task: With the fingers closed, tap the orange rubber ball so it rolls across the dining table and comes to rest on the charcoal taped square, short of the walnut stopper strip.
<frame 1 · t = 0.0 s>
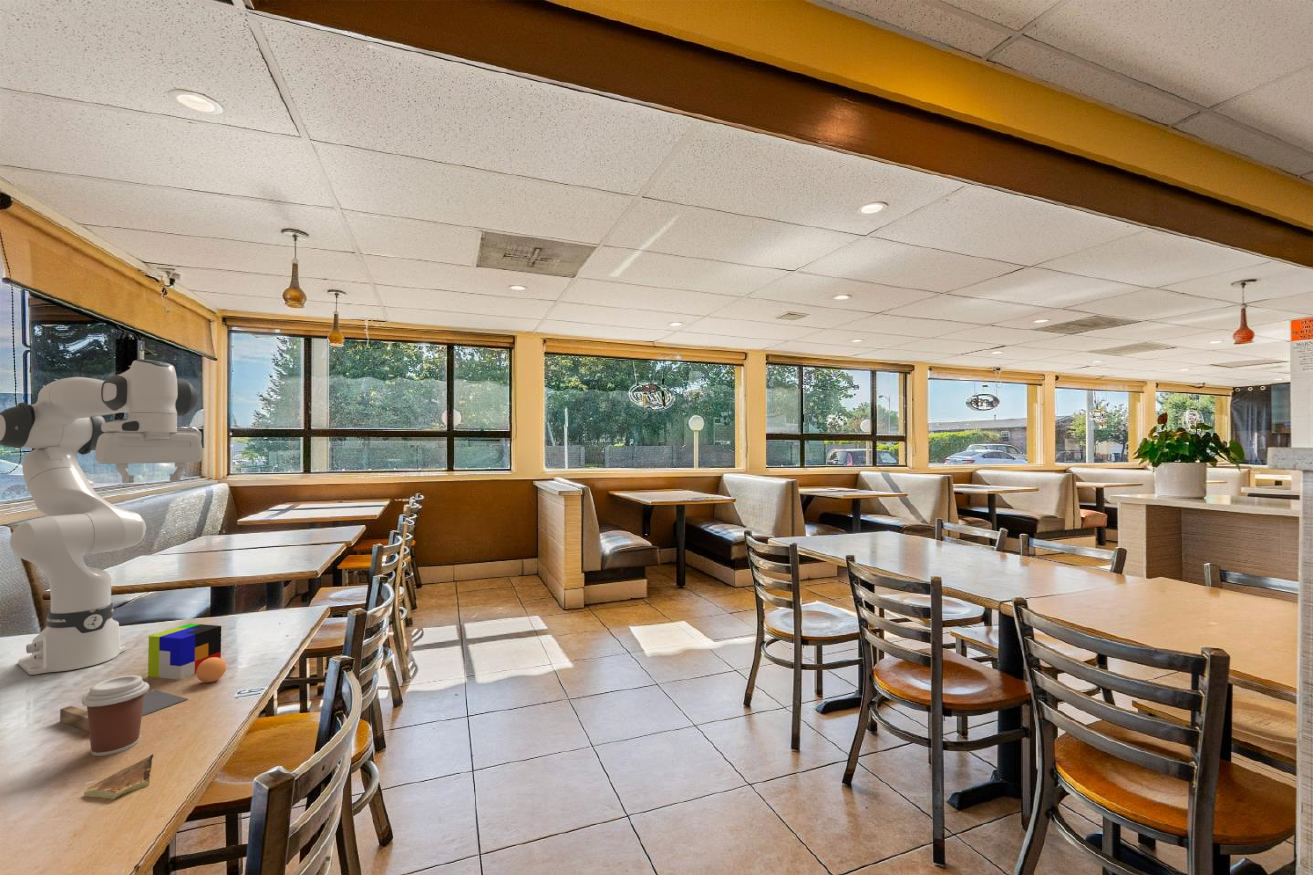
hand: (152, 482, 135), 48 cm above the table, tool pointing down, fingers open, 8 cm apart
shard: (119, 787, 93), on the table
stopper: (83, 725, 112), on the table
mark: (138, 706, 120), on the table
puzzle toy: (185, 671, 140), on the table
ball: (211, 669, 133), on the table
coffee cup: (115, 747, 104), on the table
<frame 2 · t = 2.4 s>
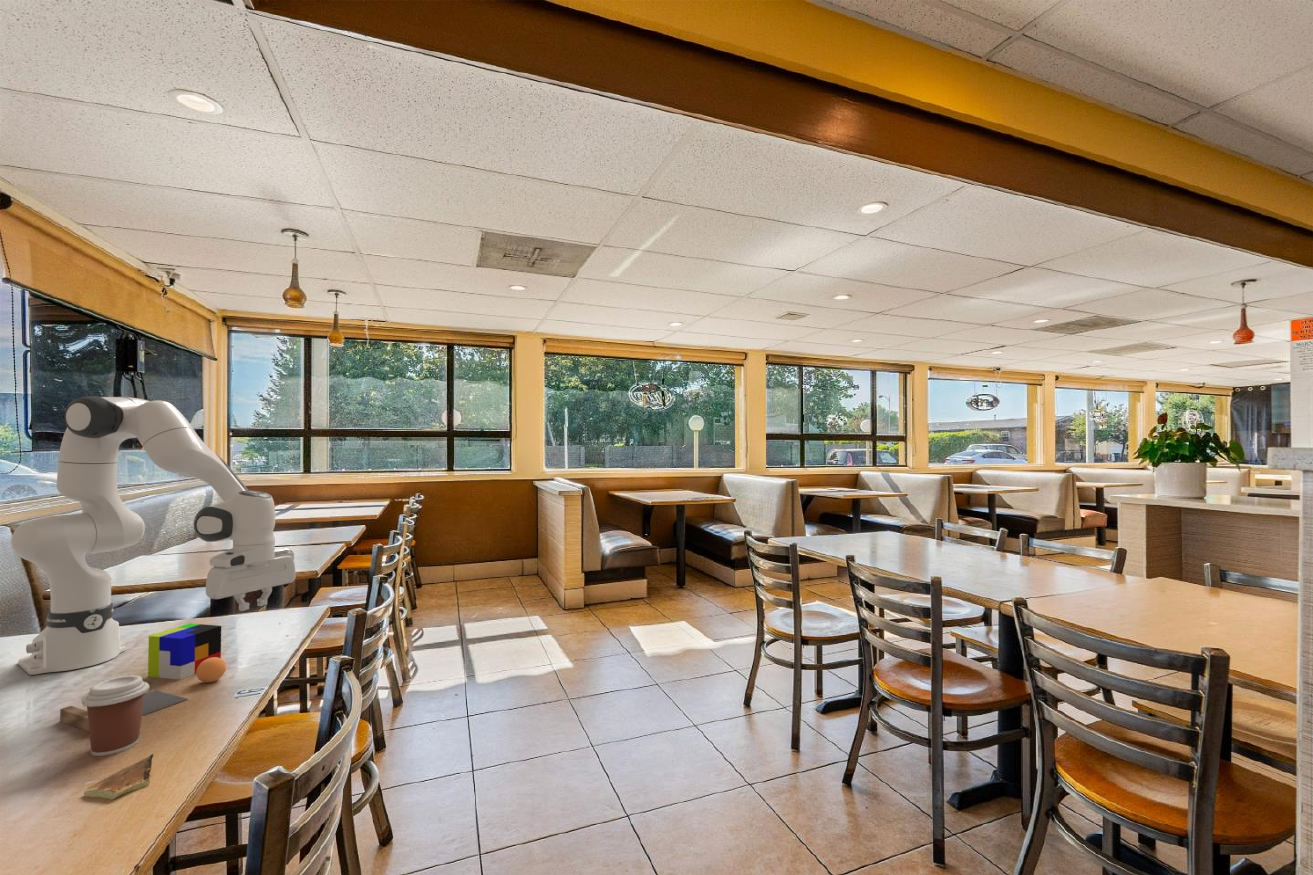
hand: (253, 607, 142), 15 cm above the table, tool pointing down, fingers open, 3 cm apart
nothing on the table moved.
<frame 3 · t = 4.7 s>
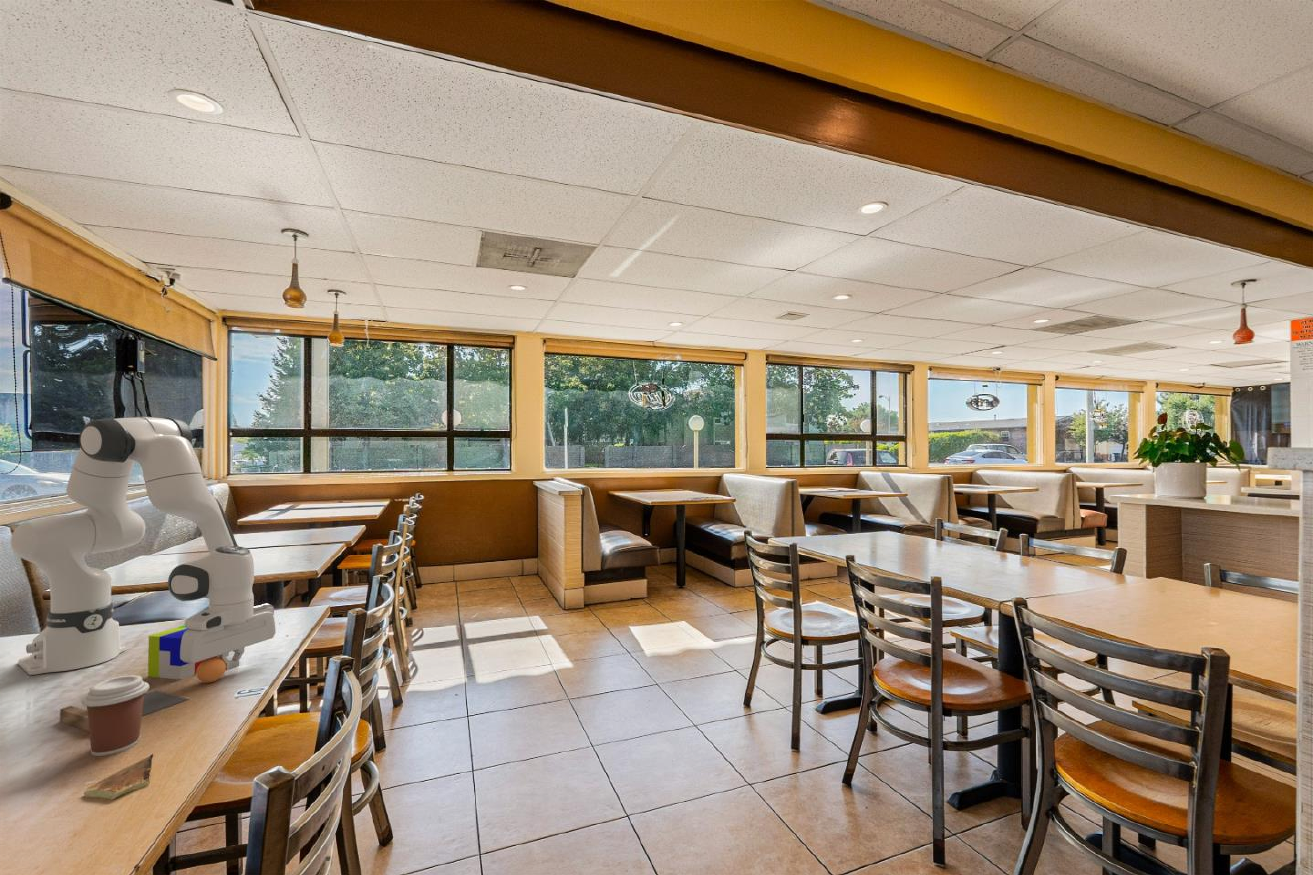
hand: (230, 668, 137), 1 cm above the table, tool pointing down, fingers closed
ball: (211, 669, 133), on the table, touching gripper
everything else where it was.
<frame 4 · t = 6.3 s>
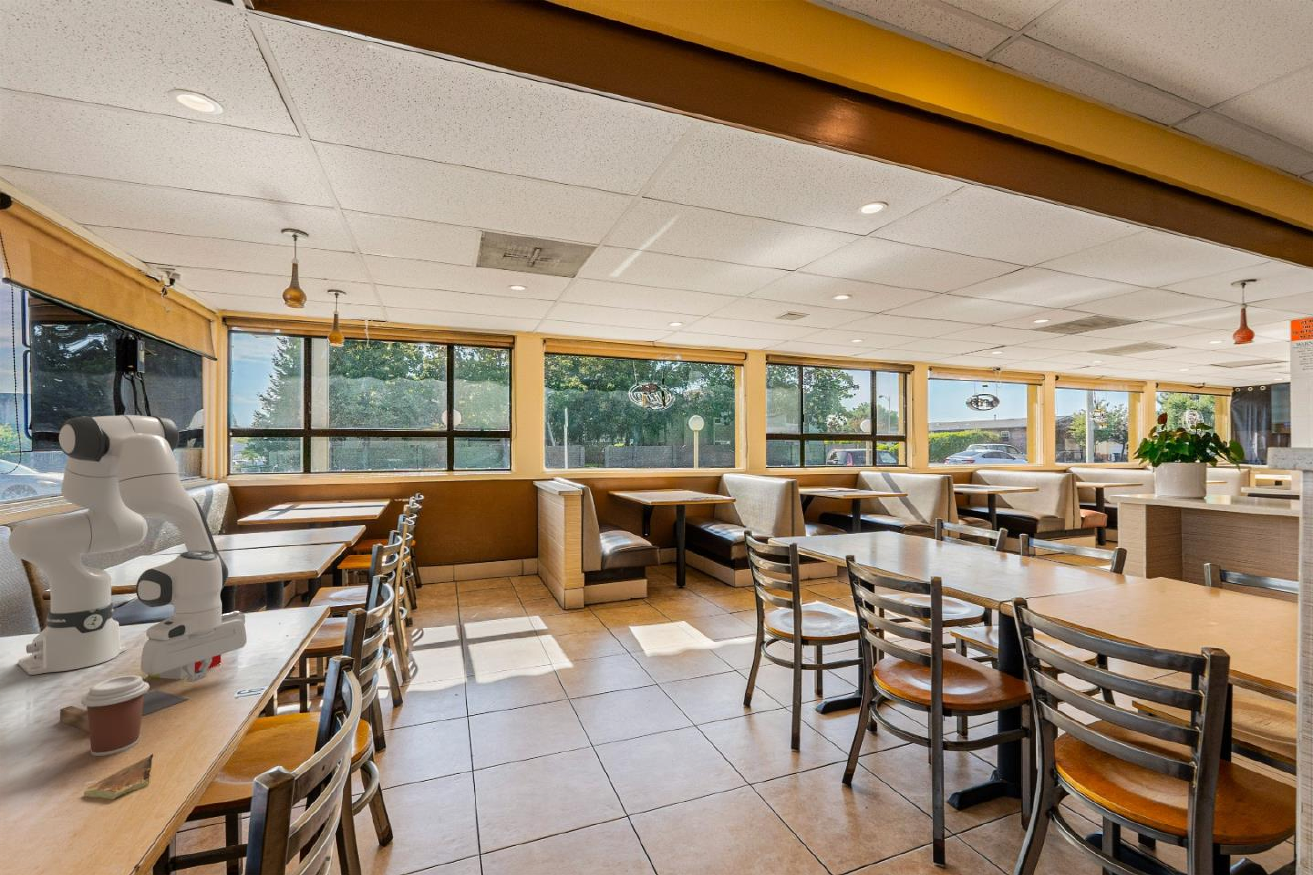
hand: (196, 679, 130), 2 cm above the table, tool pointing down, fingers closed
ball: (111, 703, 115), on the table
everything else where it was.
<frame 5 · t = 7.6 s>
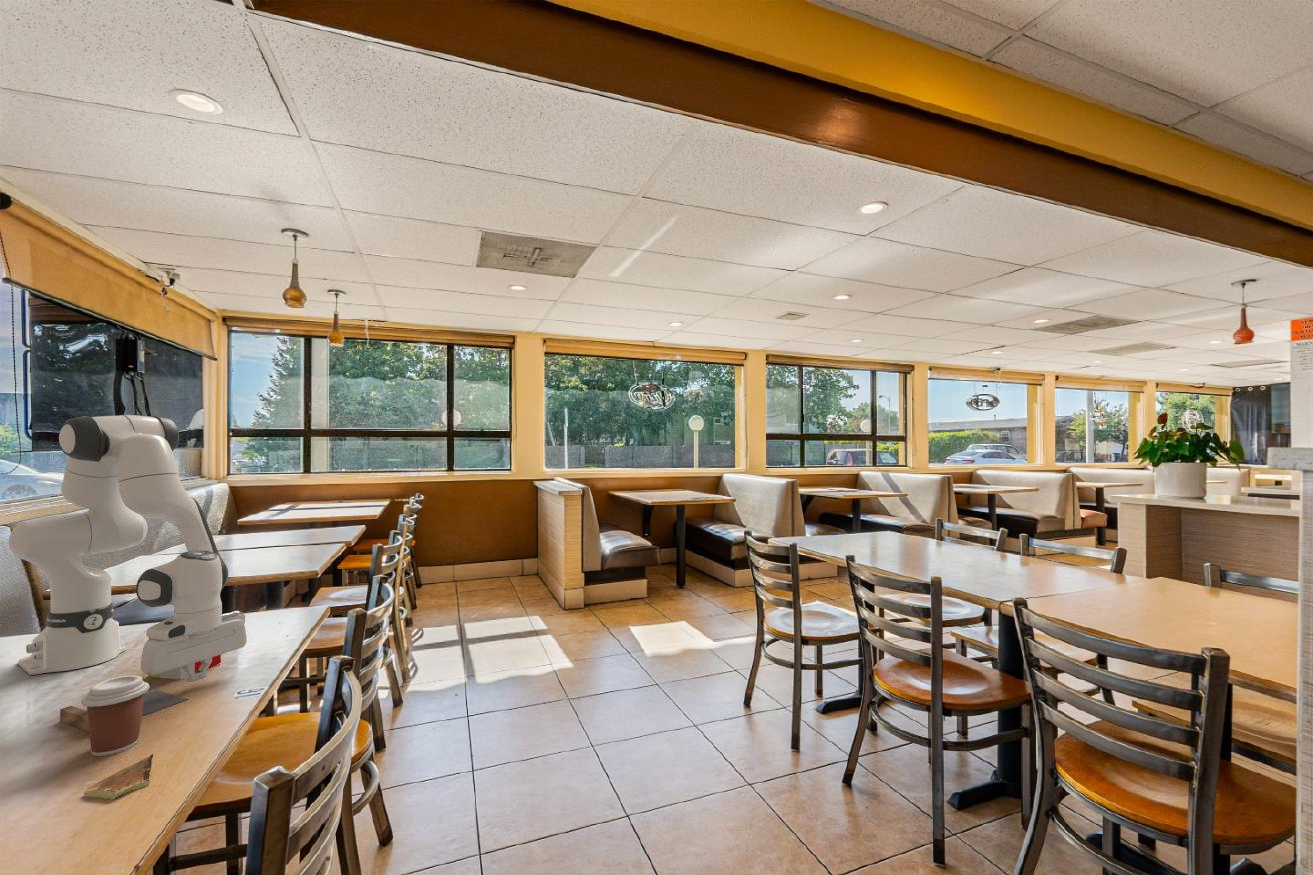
hand: (196, 679, 130), 2 cm above the table, tool pointing down, fingers closed
nothing on the table moved.
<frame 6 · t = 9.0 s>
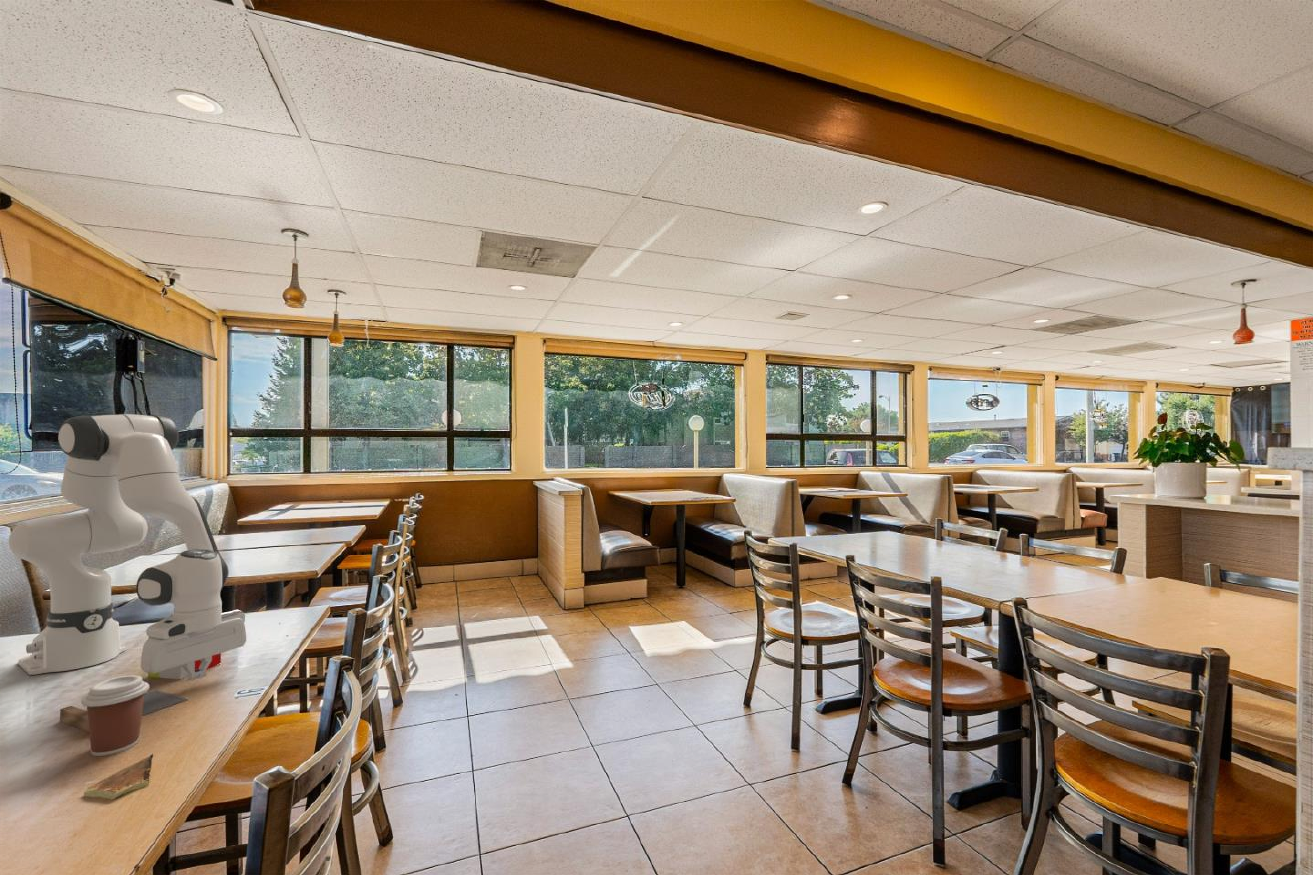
hand: (196, 678, 130), 2 cm above the table, tool pointing down, fingers closed
nothing on the table moved.
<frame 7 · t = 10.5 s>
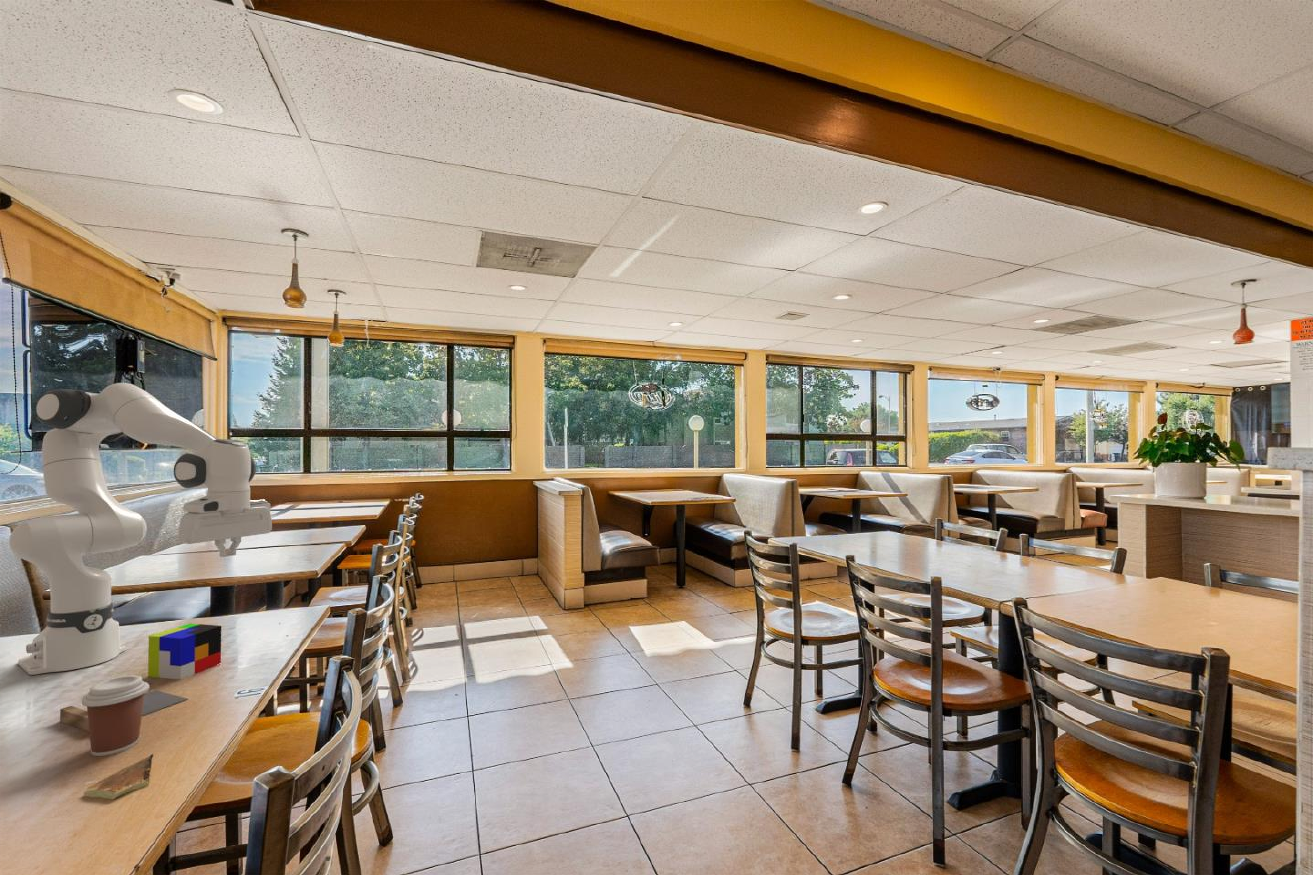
hand: (227, 556, 142), 28 cm above the table, tool pointing down, fingers closed
nothing on the table moved.
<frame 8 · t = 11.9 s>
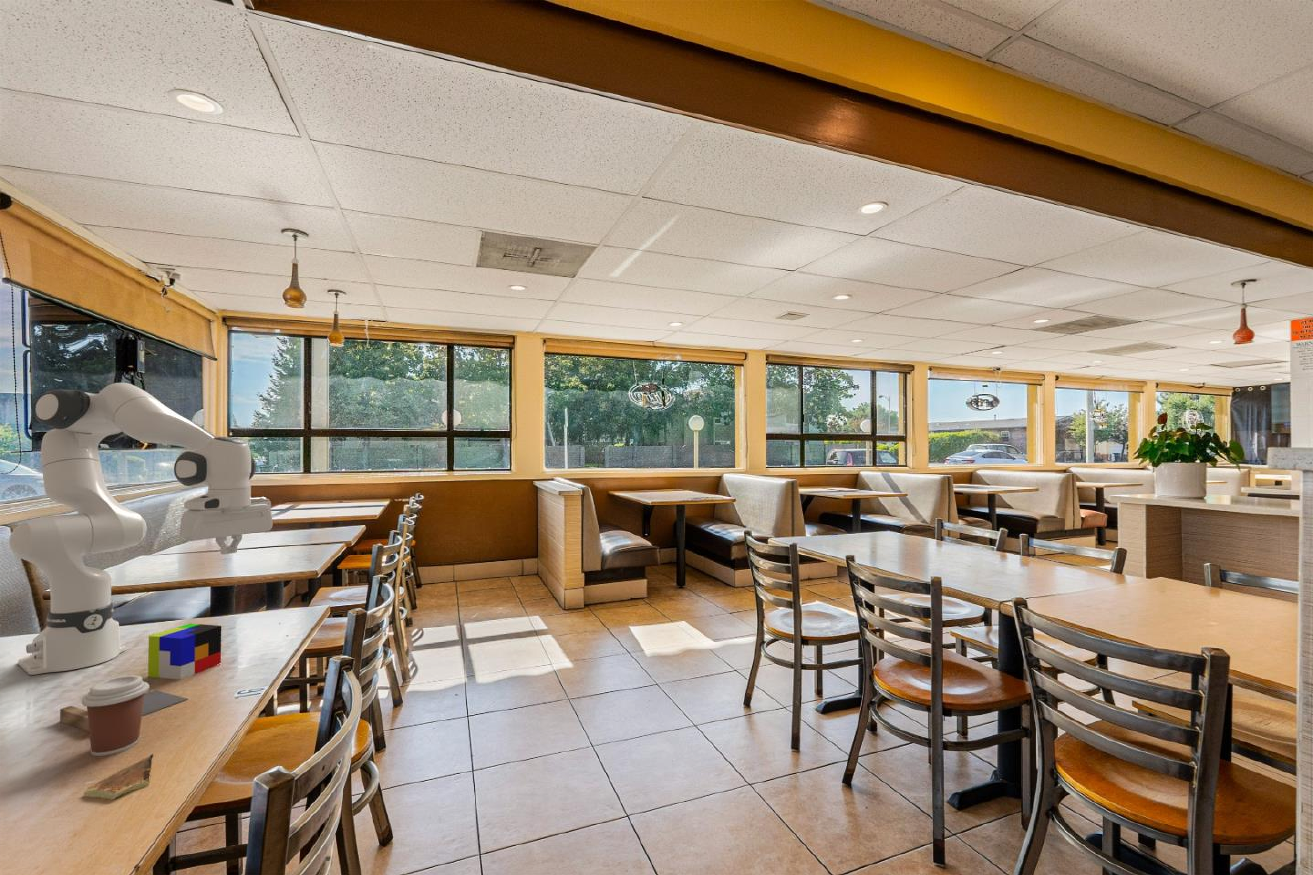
hand: (228, 553, 142), 29 cm above the table, tool pointing down, fingers closed
nothing on the table moved.
at the end: ball 4.9 cm from the mark (horizontally); ball at rest at the end (0.0 cm/s); ball moved 18.9 cm from its start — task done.
